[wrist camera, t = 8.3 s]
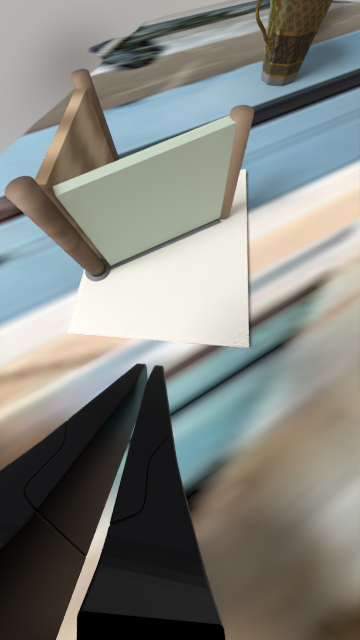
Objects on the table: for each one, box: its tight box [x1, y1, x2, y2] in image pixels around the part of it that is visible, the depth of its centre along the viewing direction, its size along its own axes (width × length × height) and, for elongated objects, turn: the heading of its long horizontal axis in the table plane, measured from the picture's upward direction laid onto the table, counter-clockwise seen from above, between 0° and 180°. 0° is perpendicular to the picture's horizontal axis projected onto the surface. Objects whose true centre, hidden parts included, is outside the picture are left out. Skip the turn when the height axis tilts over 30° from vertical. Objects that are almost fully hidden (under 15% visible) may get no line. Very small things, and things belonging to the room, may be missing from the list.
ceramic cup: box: [256, 0, 333, 86], centre depth 29 cm, size 13×10×10 cm
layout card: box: [67, 169, 249, 348], centre depth 24 cm, size 28×22×1 cm
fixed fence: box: [5, 69, 119, 277], centre depth 20 cm, size 19×2×11 cm, turn 175°
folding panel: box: [53, 105, 254, 265], centre depth 19 cm, size 18×2×10 cm, turn 115°
